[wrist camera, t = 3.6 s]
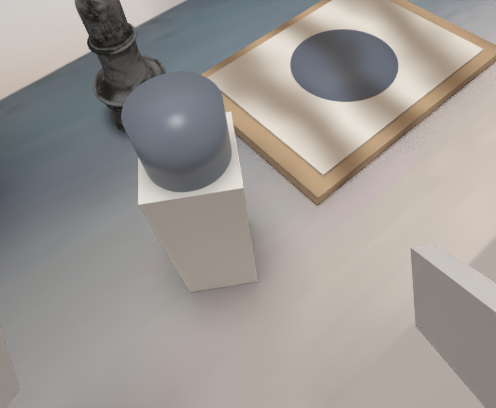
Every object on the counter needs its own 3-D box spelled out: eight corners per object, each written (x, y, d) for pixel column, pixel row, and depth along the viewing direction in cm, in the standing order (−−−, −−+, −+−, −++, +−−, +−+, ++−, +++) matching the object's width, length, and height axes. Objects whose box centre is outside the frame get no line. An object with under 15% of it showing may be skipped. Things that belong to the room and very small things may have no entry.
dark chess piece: (184, 90, 37) (145, -51, 26) (163, 140, 34) (110, 3, 23) (123, 84, 38) (63, -54, 27) (98, 132, 35) (20, -2, 24)
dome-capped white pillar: (189, 292, 27) (112, 161, 15) (185, 232, 29) (116, 77, 17) (257, 281, 27) (236, 141, 15) (248, 222, 29) (223, 60, 17)
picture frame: (317, 205, 29) (318, 194, 28) (188, 92, 36) (185, 79, 35) (498, 58, 36) (505, 45, 34) (358, -14, 43) (360, -27, 41)
